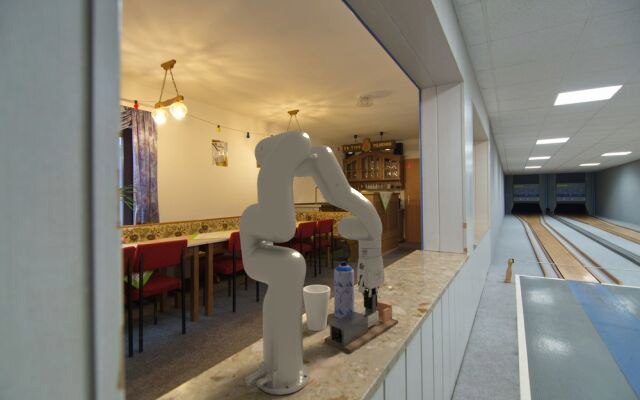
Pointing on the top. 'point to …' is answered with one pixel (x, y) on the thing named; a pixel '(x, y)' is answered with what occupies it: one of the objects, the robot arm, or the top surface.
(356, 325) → the outer sleeve
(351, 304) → the aerosol can
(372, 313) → the square sliding rod
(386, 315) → the socket block
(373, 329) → the track board
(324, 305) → the foam cup
